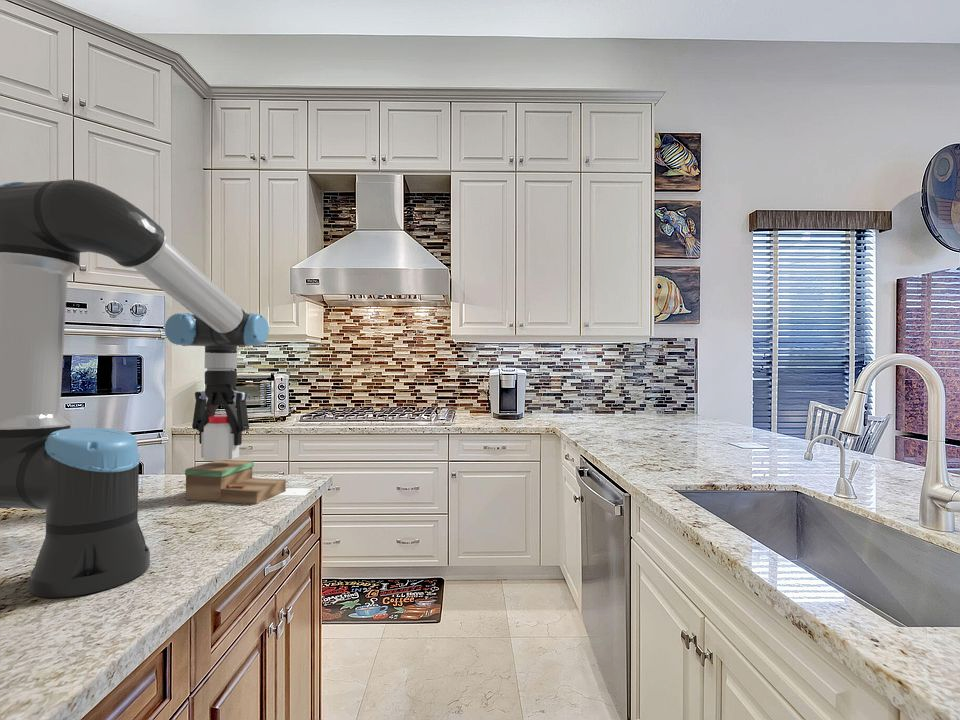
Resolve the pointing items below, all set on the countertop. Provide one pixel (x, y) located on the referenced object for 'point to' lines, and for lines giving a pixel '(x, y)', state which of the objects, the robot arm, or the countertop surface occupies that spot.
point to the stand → (230, 483)
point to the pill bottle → (217, 438)
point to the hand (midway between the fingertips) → (220, 457)
